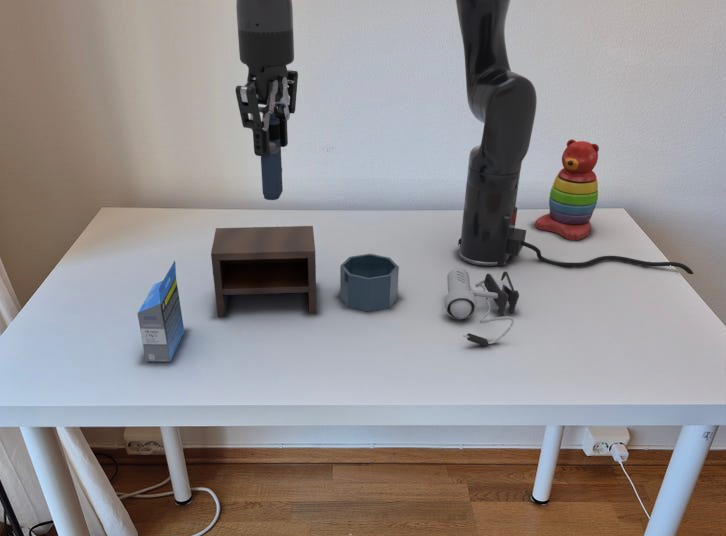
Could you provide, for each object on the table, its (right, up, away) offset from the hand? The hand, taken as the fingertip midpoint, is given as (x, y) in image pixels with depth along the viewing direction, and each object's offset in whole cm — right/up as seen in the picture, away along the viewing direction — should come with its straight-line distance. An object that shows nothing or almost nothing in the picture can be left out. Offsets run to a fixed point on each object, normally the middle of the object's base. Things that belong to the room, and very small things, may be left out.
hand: (271, 150), depth 105 cm
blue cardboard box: (-16, -29, +2) cm, 34 cm away
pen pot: (+15, -21, +15) cm, 30 cm away
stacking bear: (+57, -4, +42) cm, 70 cm away
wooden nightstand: (-2, -21, +14) cm, 25 cm away
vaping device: (0, -6, +4) cm, 7 cm away
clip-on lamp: (+33, -25, +9) cm, 42 cm away
